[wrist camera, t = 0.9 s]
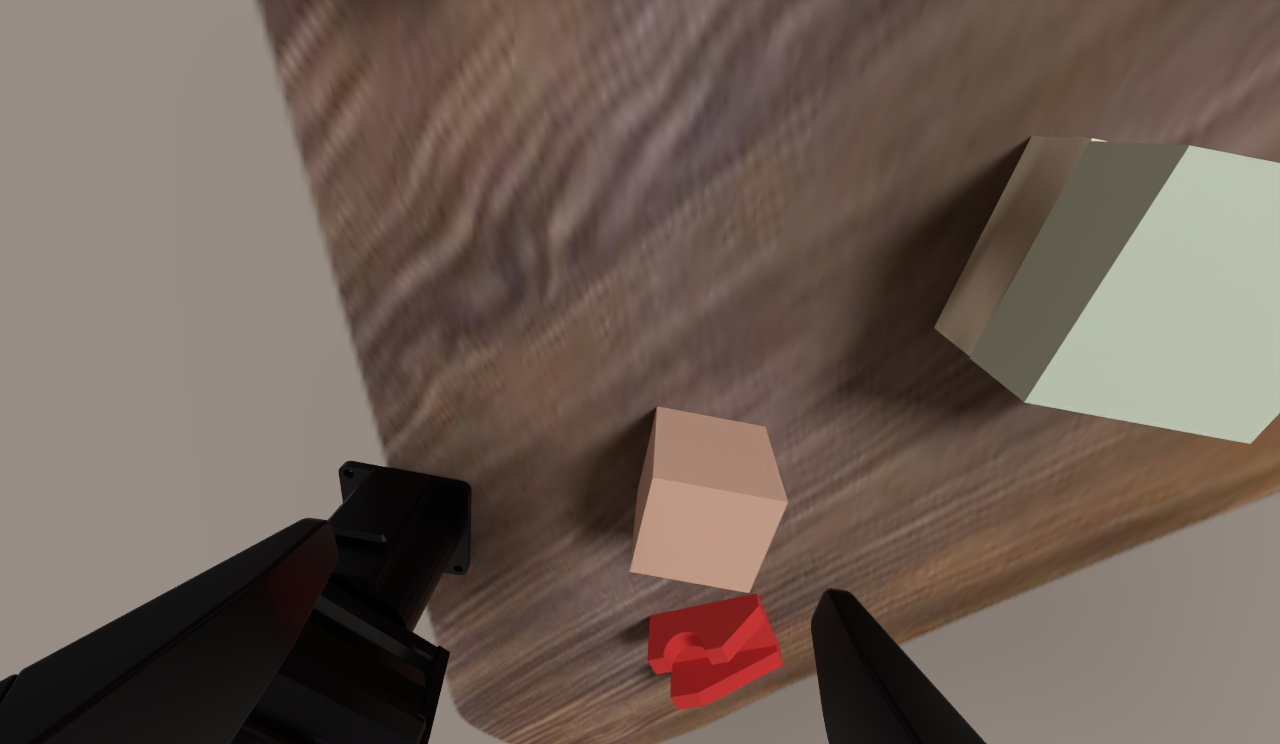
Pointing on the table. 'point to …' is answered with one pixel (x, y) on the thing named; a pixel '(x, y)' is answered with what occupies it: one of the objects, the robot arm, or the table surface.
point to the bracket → (712, 648)
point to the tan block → (706, 501)
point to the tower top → (1150, 294)
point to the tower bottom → (1008, 237)
